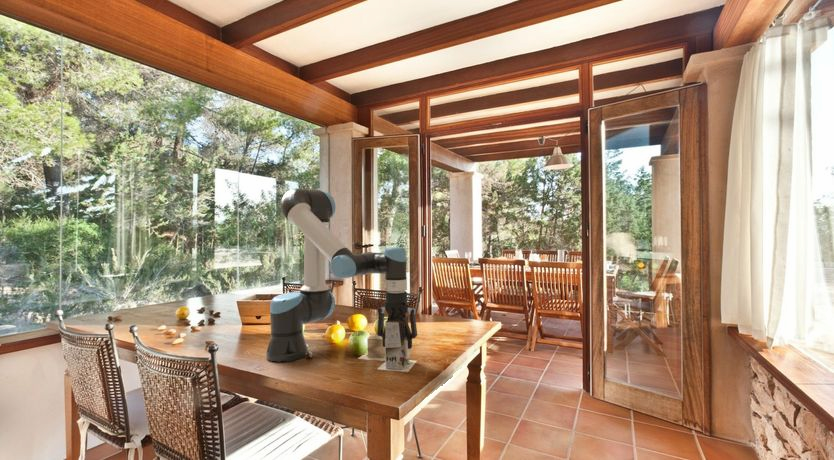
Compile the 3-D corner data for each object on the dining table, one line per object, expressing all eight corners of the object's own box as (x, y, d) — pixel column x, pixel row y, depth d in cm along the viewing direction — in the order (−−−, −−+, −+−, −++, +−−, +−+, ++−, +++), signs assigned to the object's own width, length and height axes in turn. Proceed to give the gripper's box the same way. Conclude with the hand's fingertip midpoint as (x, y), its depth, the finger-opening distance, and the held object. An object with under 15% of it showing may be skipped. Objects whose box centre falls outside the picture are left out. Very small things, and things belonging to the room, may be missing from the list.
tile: (377, 369, 126) (377, 368, 126) (388, 358, 137) (388, 358, 137) (407, 372, 123) (407, 371, 123) (417, 361, 134) (417, 360, 134)
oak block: (367, 357, 138) (367, 338, 138) (371, 352, 144) (371, 334, 144) (383, 357, 137) (383, 338, 137) (386, 352, 143) (386, 334, 143)
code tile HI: (357, 359, 137) (357, 358, 137) (369, 349, 147) (369, 349, 147) (385, 361, 134) (385, 360, 134) (396, 351, 144) (395, 351, 144)
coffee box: (403, 370, 125) (402, 322, 125) (385, 368, 126) (384, 321, 126) (409, 360, 134) (408, 315, 134) (392, 359, 135) (391, 315, 135)
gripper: (366, 292, 129) (367, 358, 129) (420, 293, 124) (421, 362, 124) (374, 288, 136) (375, 351, 136) (426, 290, 131) (427, 355, 131)
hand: (397, 356), depth 130 cm, fingers closed on coffee box, 7 cm apart
